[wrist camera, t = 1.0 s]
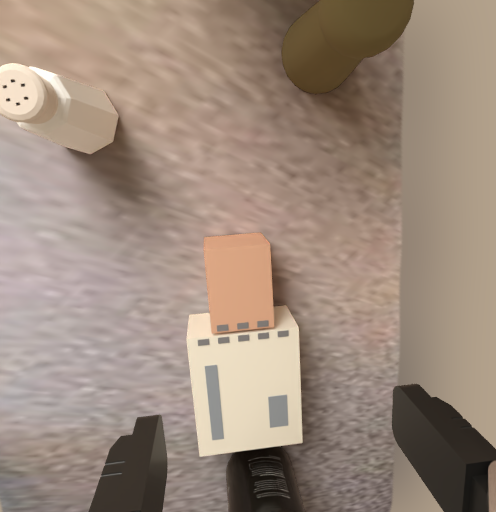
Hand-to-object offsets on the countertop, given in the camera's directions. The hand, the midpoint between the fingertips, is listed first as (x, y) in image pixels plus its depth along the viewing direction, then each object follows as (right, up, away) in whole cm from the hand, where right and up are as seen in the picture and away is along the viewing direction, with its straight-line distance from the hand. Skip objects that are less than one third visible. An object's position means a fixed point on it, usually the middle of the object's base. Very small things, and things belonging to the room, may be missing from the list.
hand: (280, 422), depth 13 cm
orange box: (-2, +4, +21) cm, 22 cm away
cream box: (-2, -5, +23) cm, 24 cm away
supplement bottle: (0, -16, +26) cm, 31 cm away
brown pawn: (+5, +22, +18) cm, 29 cm away
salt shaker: (-14, +16, +17) cm, 28 cm away
